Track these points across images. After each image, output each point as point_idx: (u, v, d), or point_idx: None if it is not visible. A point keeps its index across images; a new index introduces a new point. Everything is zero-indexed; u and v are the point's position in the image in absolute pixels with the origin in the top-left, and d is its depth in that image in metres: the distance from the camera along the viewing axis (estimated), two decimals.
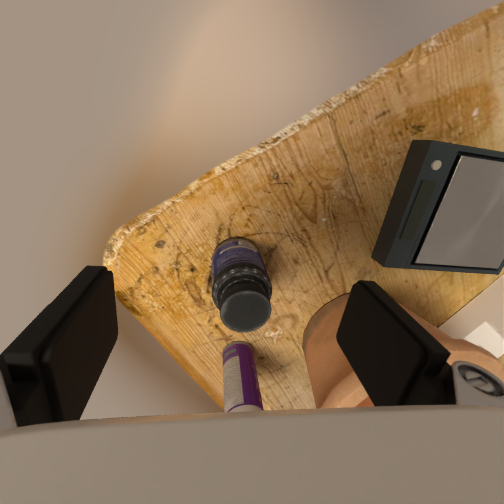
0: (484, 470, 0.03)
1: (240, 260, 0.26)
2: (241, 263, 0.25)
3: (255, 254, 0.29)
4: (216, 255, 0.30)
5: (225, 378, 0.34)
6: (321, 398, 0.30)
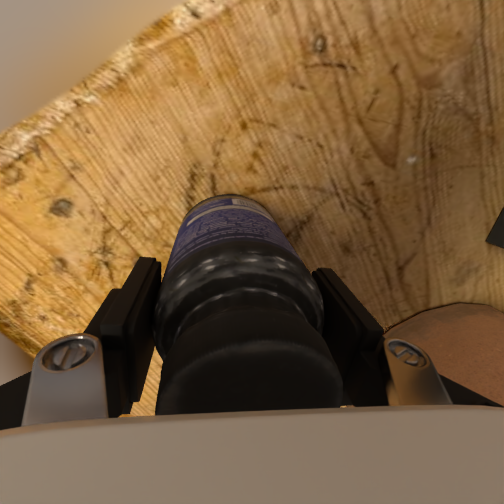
0: (484, 470, 0.03)
1: (236, 233, 0.09)
2: (237, 242, 0.08)
3: (273, 225, 0.12)
4: (181, 229, 0.13)
5: None
6: None
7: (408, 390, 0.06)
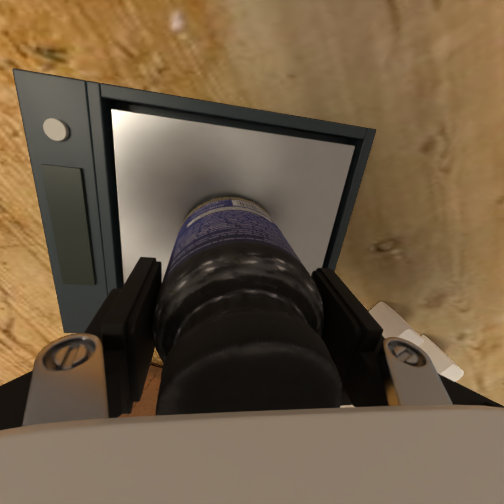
0: (484, 470, 0.03)
1: (235, 235, 0.09)
2: (237, 244, 0.08)
3: (273, 226, 0.12)
4: (181, 231, 0.13)
5: None
6: None
7: (407, 390, 0.06)
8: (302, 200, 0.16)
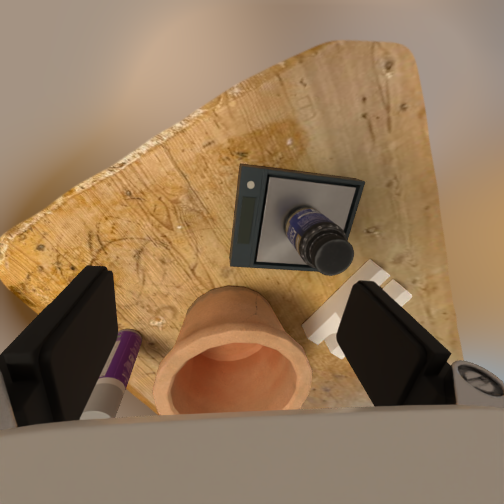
0: (484, 470, 0.03)
1: (322, 220, 0.32)
2: (325, 222, 0.31)
3: None
4: (294, 220, 0.36)
5: None
6: None
7: None
8: (334, 208, 0.39)
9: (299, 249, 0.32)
